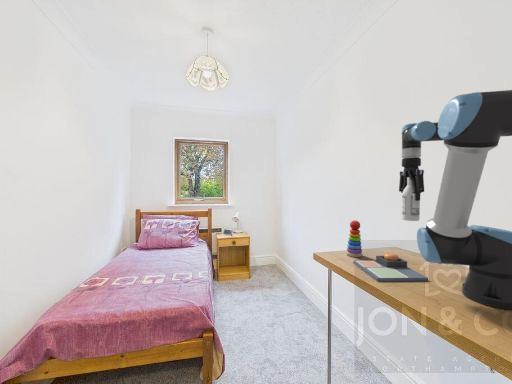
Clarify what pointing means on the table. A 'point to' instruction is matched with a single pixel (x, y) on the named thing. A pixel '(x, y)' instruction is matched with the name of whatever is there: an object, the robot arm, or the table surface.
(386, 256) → the button
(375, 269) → the picture board
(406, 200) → the bath foam
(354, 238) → the stacking toy
